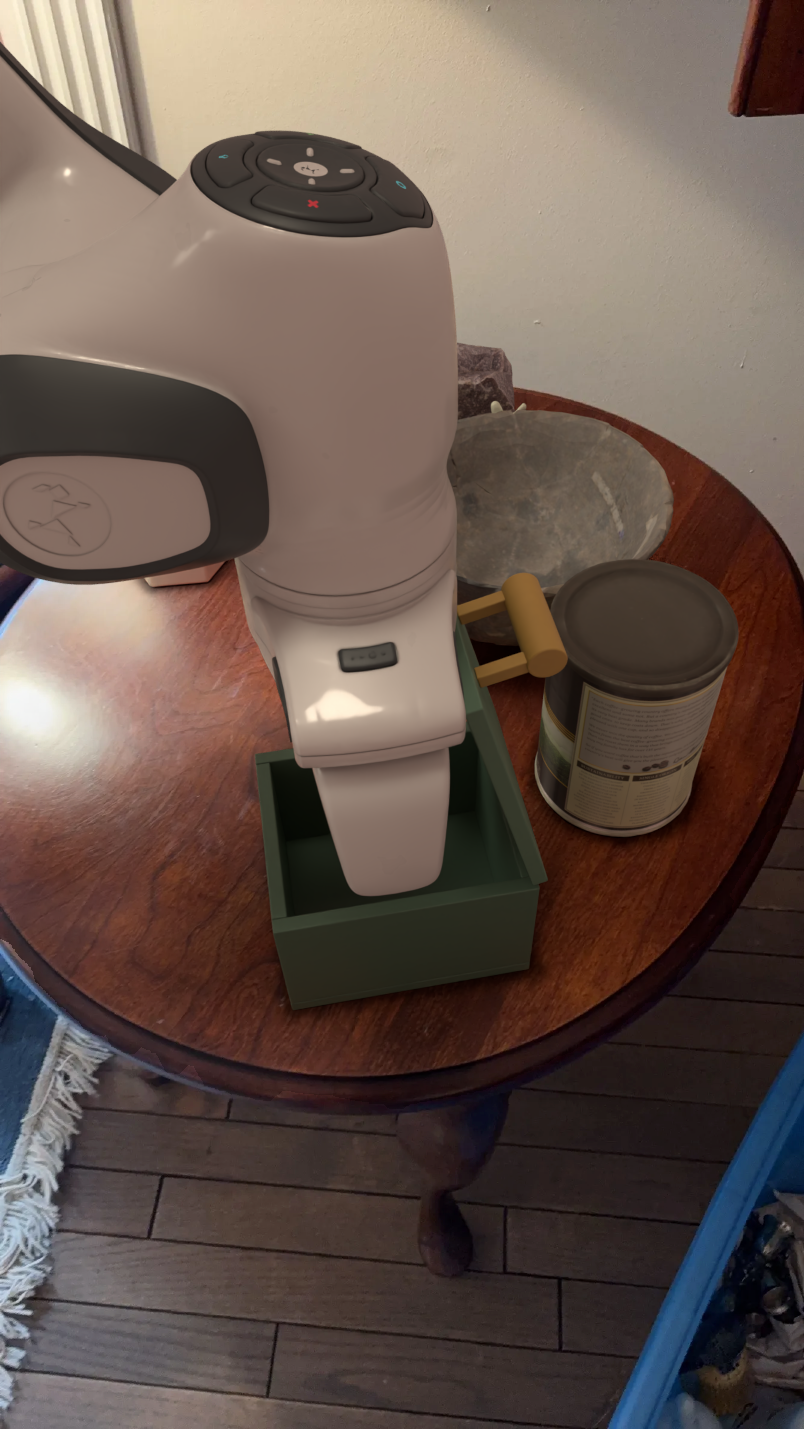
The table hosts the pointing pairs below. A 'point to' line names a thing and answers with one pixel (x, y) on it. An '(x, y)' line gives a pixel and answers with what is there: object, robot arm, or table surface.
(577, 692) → the coffee can
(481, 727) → the lid
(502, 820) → the chest
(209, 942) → the table surface
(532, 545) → the bowl
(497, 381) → the rock
